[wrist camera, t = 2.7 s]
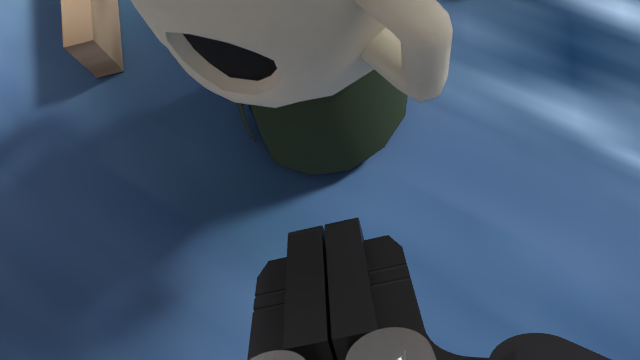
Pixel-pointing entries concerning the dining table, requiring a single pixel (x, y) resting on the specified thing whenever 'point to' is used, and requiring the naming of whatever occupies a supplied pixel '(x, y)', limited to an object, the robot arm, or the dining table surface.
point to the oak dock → (93, 34)
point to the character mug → (311, 68)
